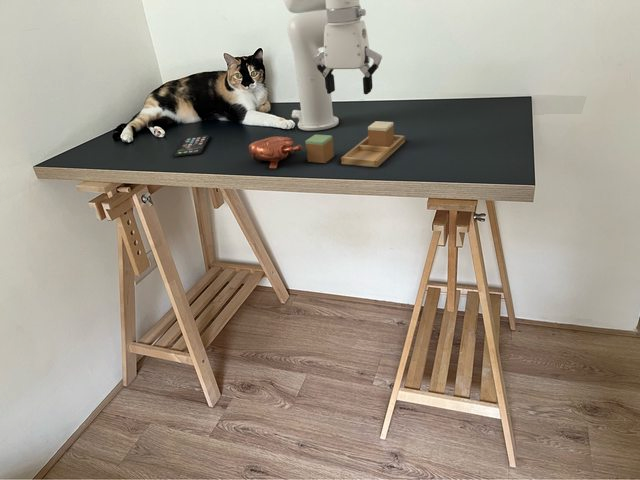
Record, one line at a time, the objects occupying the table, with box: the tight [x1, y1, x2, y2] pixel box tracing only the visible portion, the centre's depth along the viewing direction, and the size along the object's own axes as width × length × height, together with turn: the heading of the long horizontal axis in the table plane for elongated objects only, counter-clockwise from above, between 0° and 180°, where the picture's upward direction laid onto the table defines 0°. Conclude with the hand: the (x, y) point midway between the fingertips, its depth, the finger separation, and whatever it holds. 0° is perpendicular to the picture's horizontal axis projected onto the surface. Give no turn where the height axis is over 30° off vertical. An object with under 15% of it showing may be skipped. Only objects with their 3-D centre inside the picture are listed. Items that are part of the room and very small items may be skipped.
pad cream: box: [367, 120, 395, 147], centre depth 127 cm, size 5×5×6 cm
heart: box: [248, 136, 303, 169], centre depth 126 cm, size 6×12×15 cm
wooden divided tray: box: [340, 134, 406, 168], centre depth 125 cm, size 10×18×2 cm, turn 150°
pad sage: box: [305, 134, 335, 164], centre depth 124 cm, size 5×5×6 cm
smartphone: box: [174, 134, 210, 157], centre depth 145 cm, size 7×1×15 cm
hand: (349, 92), depth 119 cm, fingers open, 9 cm apart
